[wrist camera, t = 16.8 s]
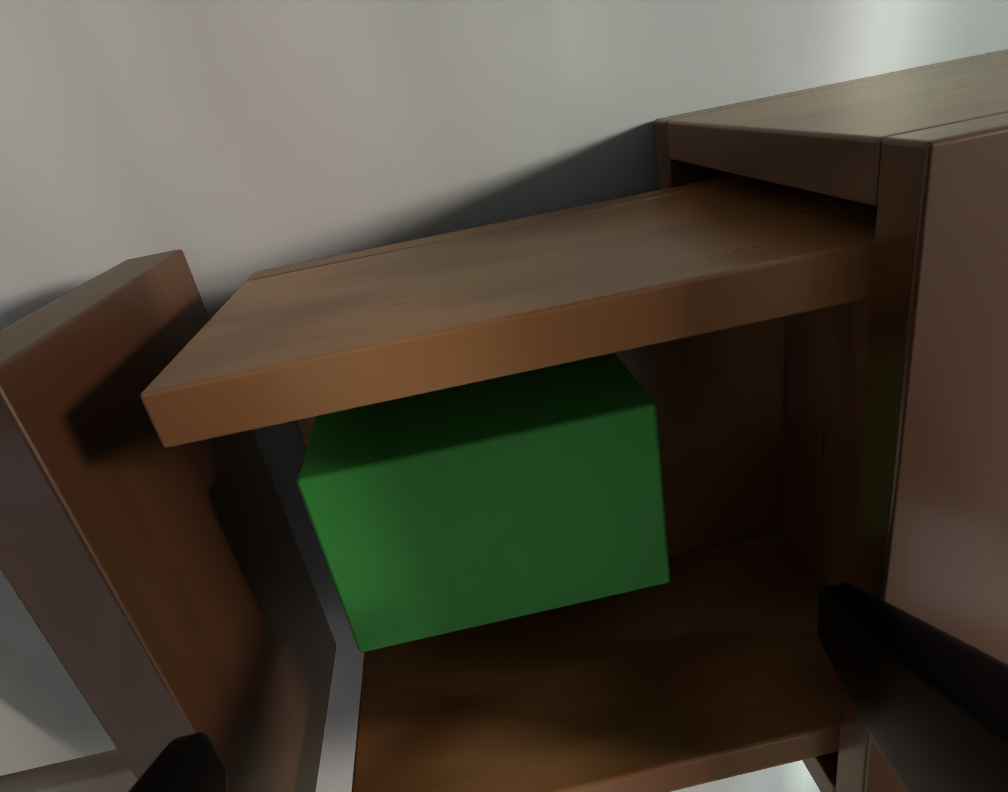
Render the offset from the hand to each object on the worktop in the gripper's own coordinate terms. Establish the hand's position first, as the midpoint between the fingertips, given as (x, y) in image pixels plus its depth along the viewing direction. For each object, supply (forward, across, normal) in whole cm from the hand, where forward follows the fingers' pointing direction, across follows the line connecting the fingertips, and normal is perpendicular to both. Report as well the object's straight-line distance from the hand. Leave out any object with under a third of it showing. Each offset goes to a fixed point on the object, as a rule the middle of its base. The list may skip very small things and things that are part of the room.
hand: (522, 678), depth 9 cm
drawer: (+8, +2, 0) cm, 8 cm away
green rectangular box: (+6, 0, 0) cm, 7 cm away
